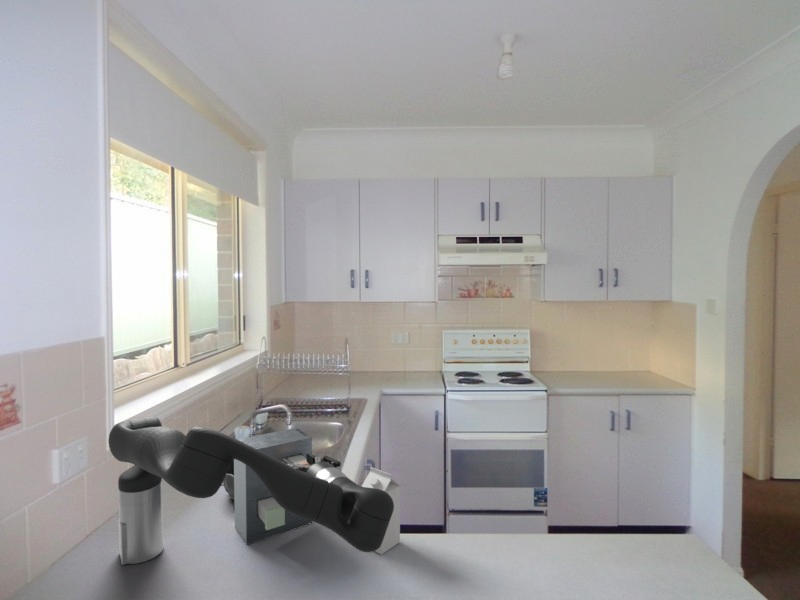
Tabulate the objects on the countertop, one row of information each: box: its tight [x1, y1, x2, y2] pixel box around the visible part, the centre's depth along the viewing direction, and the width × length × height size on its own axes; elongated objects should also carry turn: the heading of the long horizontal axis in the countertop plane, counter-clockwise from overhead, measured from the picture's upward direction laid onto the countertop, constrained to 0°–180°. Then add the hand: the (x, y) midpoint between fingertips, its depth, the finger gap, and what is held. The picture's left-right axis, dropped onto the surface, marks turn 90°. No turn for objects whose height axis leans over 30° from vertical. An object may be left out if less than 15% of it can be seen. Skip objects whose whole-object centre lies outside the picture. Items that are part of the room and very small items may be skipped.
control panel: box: [234, 427, 313, 545], centre depth 128 cm, size 18×10×24 cm, turn 126°
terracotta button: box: [286, 454, 310, 466], centre depth 124 cm, size 5×9×5 cm, turn 36°
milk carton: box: [361, 466, 401, 555], centre depth 120 cm, size 7×7×19 cm
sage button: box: [257, 496, 285, 530], centre depth 120 cm, size 5×9×5 cm, turn 36°
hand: (295, 460), depth 113 cm, fingers open, 5 cm apart
